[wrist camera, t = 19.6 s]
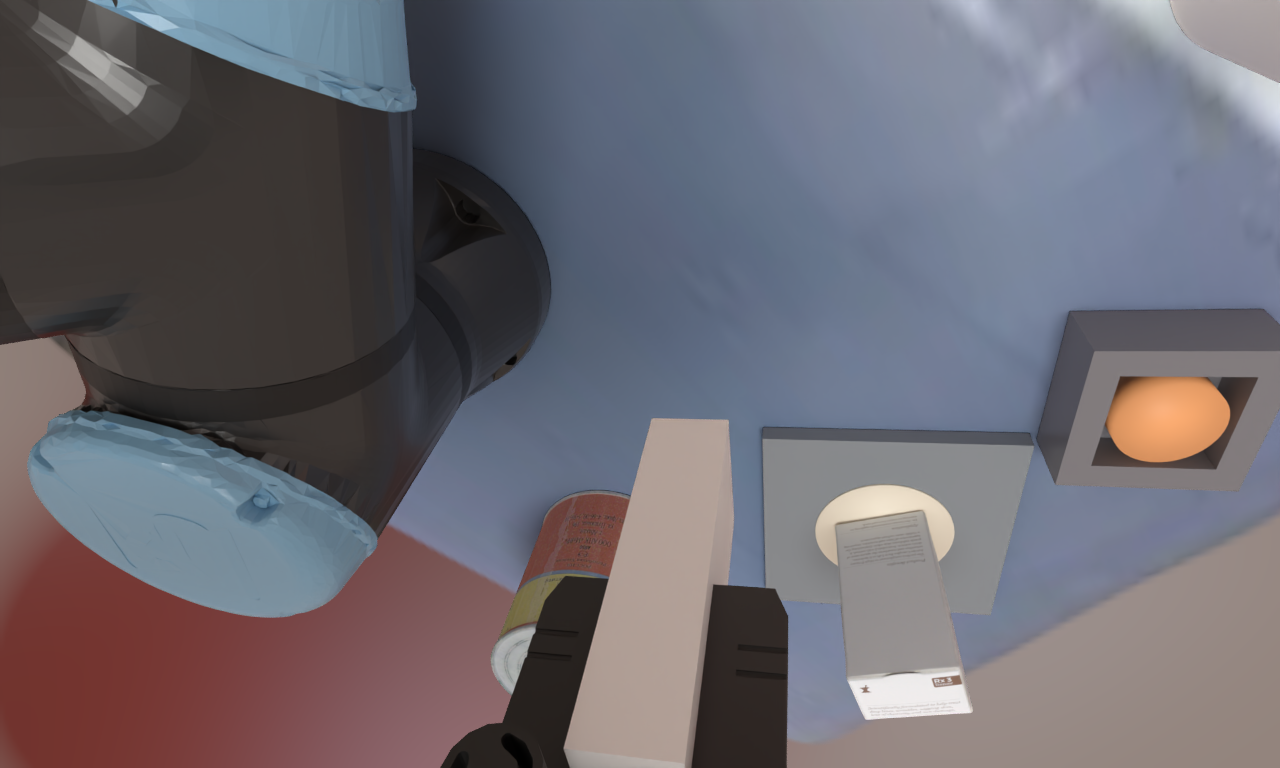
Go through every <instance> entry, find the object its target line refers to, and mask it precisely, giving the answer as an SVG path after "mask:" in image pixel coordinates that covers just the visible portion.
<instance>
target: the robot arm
mask: <svg viewBox="0 0 1280 768" xmlns="http://www.w3.org/2000/svg"><path fill="white" fill-rule="evenodd" d="M416 105H417V96H416V89H415V87H414V86H413V85H412V83H411V82H410V72H409V61H408V50H407V39H406V28H405V14H404V0H0V345H2V344H8V343H14V342H20V341H26V340H33V339H39V338H48V337H54V336H60V335H65V337H66V338H67V341H68V344H69V346H70V349H71V351H72V354H73V357H74V359H75V362H76V364H77V367H78V370H79V373H80V375H81V378H82V380H83V383H84V386H85V388H86V395H85V399H84V401H83V403H82V405H80V406H79V407H77V408H75V409H73V410H71V411H68V412H67V413H64V414H59V416H57V417H55V418H54V419H52V420H51V421H49V423H48V428H47V433H46V434H45V435H44V436H43V437H42V438H41V439H40V440H39V441H38V442H37V443H36V444H35V445H34V446H33V448H32V450H31V451H30V455H29V459H28V463H27V467H28V474H29V477H30V480H31V484H32V487H33V489H34V491H35V492H36V494H37V496H38V498H39V499H40V501H41V502H42V503H43V505H44V506H45V508H46V509H47V510H48V511H49V512H50V513H51V514H52V515H53V517H55V519H56V520H57V521H58V522H59V523H60V524H61V525H62V526H63V527H64V528H65V529H66V530H68V531H69V532H70V533H71V534H72V535H73V536H74V537H76V538H77V539H78V540H79V541H81V542H82V543H83V544H84V545H85V546H87V547H88V548H90V549H91V550H93V551H94V552H96V553H97V554H98V555H100V556H101V557H103V558H104V559H105V560H107V561H109V562H110V563H112V564H113V565H115V566H117V567H119V568H120V569H122V570H124V571H125V572H127V573H129V574H131V575H132V576H134V577H136V578H138V579H140V580H142V581H144V582H146V583H148V584H150V585H152V586H154V587H156V588H158V589H161V590H163V591H165V592H168V593H170V594H173V595H175V596H178V597H180V598H183V599H185V600H188V601H191V602H194V603H197V604H200V605H203V606H206V607H210V608H213V609H217V610H221V611H226V612H230V613H234V614H239V615H246V616H254V617H286V616H291V615H294V614H296V613H303V612H308V611H310V610H313V609H316V608H319V607H321V606H322V605H324V604H326V603H327V602H329V601H330V600H331V599H333V598H334V597H335V596H336V595H337V594H338V593H339V592H340V590H341V589H342V588H343V587H344V585H345V584H346V583H347V581H348V580H349V579H350V577H351V576H352V575H353V574H354V572H355V571H356V570H357V568H358V567H359V566H360V565H361V563H362V562H363V561H364V559H366V557H368V556H370V555H371V554H372V553H373V552H374V550H375V549H376V547H377V540H378V537H379V536H380V535H381V533H382V531H383V530H384V528H385V527H386V525H387V523H388V522H389V520H390V518H391V517H392V515H393V514H394V512H395V510H396V509H397V507H398V505H399V504H400V502H401V501H402V499H403V497H404V496H405V494H406V493H407V491H408V489H409V488H410V486H411V484H412V483H413V481H414V480H415V478H416V476H417V475H418V473H419V471H420V470H421V468H422V467H423V465H424V463H425V462H426V460H427V458H428V457H429V455H430V454H431V452H432V450H433V449H434V447H435V445H436V444H437V442H438V441H439V439H440V437H441V436H442V434H443V432H444V431H445V429H446V428H447V426H448V424H449V423H450V421H451V419H452V418H453V416H454V415H455V413H456V411H457V409H458V408H459V406H460V405H461V403H462V402H463V401H464V400H466V399H467V398H469V397H470V396H472V395H474V394H475V393H477V392H478V391H480V390H482V389H483V388H485V387H486V386H488V385H489V384H491V383H492V382H493V381H495V380H497V379H499V378H500V377H502V376H503V375H505V374H506V373H508V372H509V371H510V370H512V369H513V368H514V367H515V366H516V365H517V364H518V363H519V362H520V361H521V360H522V359H523V358H524V356H525V355H526V354H527V352H528V351H529V350H530V348H531V346H532V344H533V343H534V341H535V339H536V337H537V336H538V334H539V332H540V330H541V328H542V326H543V324H544V322H545V319H546V316H547V313H548V309H549V303H550V293H551V292H550V275H549V269H548V264H547V260H546V257H545V254H544V251H543V248H542V246H541V243H540V241H539V239H538V237H537V235H536V233H535V231H534V229H533V227H532V226H531V224H530V223H529V221H528V219H527V218H526V216H525V215H524V214H523V212H522V211H521V210H520V209H519V207H518V206H517V205H516V204H515V203H514V201H513V200H512V199H511V198H510V197H509V196H508V195H507V194H506V193H505V192H504V191H503V190H502V189H500V188H499V187H498V186H497V185H496V184H495V183H493V182H492V181H491V180H490V179H488V178H487V177H485V176H484V175H483V174H481V173H480V172H478V171H476V170H475V169H473V168H471V167H470V166H468V165H466V164H464V163H462V162H460V161H457V160H455V159H453V158H450V157H447V156H445V155H442V154H438V153H435V152H431V151H426V150H420V149H412V110H414V109H415V108H416ZM733 527H734V509H733V492H732V474H731V456H730V438H729V421H728V420H709V419H659V418H652V420H651V423H650V427H649V431H648V435H647V438H646V442H645V446H644V450H643V453H642V457H641V461H640V464H639V468H638V472H637V476H636V479H635V483H634V487H633V491H632V494H631V498H630V502H629V506H628V509H627V513H626V517H625V521H624V524H623V528H622V532H621V536H620V539H619V543H618V547H617V550H616V554H615V558H614V562H613V565H612V569H611V573H610V577H609V579H605V578H591V577H577V576H565V577H564V578H563V579H562V580H561V581H560V583H559V584H558V585H557V586H556V587H555V589H554V590H553V591H552V592H551V593H550V594H549V596H548V597H547V598H546V599H545V601H544V604H543V607H542V610H541V613H540V616H539V619H538V622H537V625H536V627H535V634H533V636H532V639H531V642H530V645H529V648H528V650H527V657H525V659H524V662H523V665H522V668H521V671H520V674H519V676H518V679H517V682H516V685H515V688H514V691H513V694H512V697H511V699H510V702H509V705H508V708H507V711H506V714H505V717H504V720H503V723H496V724H487V725H485V726H483V727H481V728H479V729H476V730H474V731H472V732H470V733H468V734H467V735H466V736H465V737H464V738H463V739H461V740H460V741H459V742H458V743H457V744H456V745H455V746H454V747H453V748H452V749H451V750H450V752H449V754H448V756H447V757H446V759H445V761H444V762H443V764H442V766H441V768H787V698H788V615H787V613H786V611H785V609H784V607H783V605H782V602H781V600H780V598H779V596H778V594H777V591H776V589H773V588H758V587H744V586H730V585H728V577H729V567H730V557H731V547H732V537H733Z"/></svg>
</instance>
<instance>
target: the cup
mask: <svg viewBox="0 0 1280 768" xmlns="http://www.w3.org/2000/svg"><path fill="white" fill-rule="evenodd" d="M1170 3H1171V7H1172V11H1173V14H1174V17H1175V19H1176V21H1177V23H1178V25H1179V26H1180V28H1181V30H1182V31H1183V32H1184V33H1185V35H1186V36H1187V37H1188V38H1189V39H1190V40H1192V41H1193V42H1194V43H1195V44H1197V45H1198V46H1200V47H1201V48H1203V49H1205V50H1207V51H1209V52H1211V53H1214V54H1216V55H1218V56H1220V57H1223V58H1225V59H1227V60H1229V61H1231V62H1234V63H1236V64H1238V65H1240V66H1243V67H1245V68H1247V69H1249V70H1252V71H1254V72H1256V73H1258V74H1261V75H1263V76H1265V77H1267V78H1269V79H1272V80H1274V81H1276V82H1278V83H1280V0H1170Z"/></svg>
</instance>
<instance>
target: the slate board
mask: <svg viewBox="0 0 1280 768" xmlns="http://www.w3.org/2000/svg"><path fill="white" fill-rule="evenodd" d="M1033 449H1034V444H1033V441H1032V439H1031V436H1030V434H1029V433H1001V432H956V431H911V430H866V429H820V428H775V427H763V484H764V529H765V574H766V588H773V589H776V591H777V594H778V596H779V598H780V600H787V601H801V602H814V603H828V604H841V601H840V587H839V573H838V559H837V544H836V532H835V526H836V525H839V524H845V523H851V522H857V521H864V520H870V519H876V518H882V517H888V516H894V515H900V514H906V513H912V512H918V511H923V512H925V514H926V518H927V522H928V526H929V530H930V534H931V537H932V541H933V544H934V548H935V551H936V554H937V558H938V562H939V566H940V571H941V575H942V579H943V584H944V588H945V592H946V596H947V601H948V605H949V609H950V612H952V613H966V614H980V615H990V614H991V611H992V607H993V603H994V599H995V595H996V591H997V587H998V584H999V580H1000V576H1001V572H1002V568H1003V564H1004V561H1005V557H1006V553H1007V549H1008V545H1009V541H1010V538H1011V534H1012V530H1013V526H1014V522H1015V518H1016V514H1017V511H1018V507H1019V503H1020V499H1021V495H1022V491H1023V488H1024V484H1025V480H1026V476H1027V472H1028V468H1029V465H1030V461H1031V457H1032V453H1033Z"/></svg>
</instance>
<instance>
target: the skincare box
mask: <svg viewBox="0 0 1280 768" xmlns="http://www.w3.org/2000/svg"><path fill="white" fill-rule="evenodd" d="M835 532H836V544H837V559H838V573H839V587H840V601H841V614H842V627H843V638H844V649H845V658H846V678H847V680H848V683H849V685H850V687H851V689H852V691H853V694H854V696H855V698H856V700H857V702H858V705H859V707H860V709H861V711H862V713H863V716H864V718H865V719H866V720H869V719H881V718H897V717H911V716H928V715H943V714H956V713H971V712H972V711H973V708H972V704H971V699H970V694H969V690H968V686H967V681H966V677H965V673H964V669H963V665H962V661H961V657H960V653H959V648H958V644H957V640H956V635H955V631H954V627H953V622H952V618H951V614H950V609H949V605H948V601H947V596H946V592H945V588H944V584H943V579H942V575H941V571H940V566H939V562H938V558H937V554H936V551H935V548H934V544H933V541H932V537H931V534H930V530H929V526H928V522H927V518H926V514H925V512H923V511H918V512H912V513H906V514H900V515H894V516H888V517H882V518H876V519H870V520H864V521H857V522H851V523H845V524H839V525H836V526H835Z"/></svg>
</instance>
